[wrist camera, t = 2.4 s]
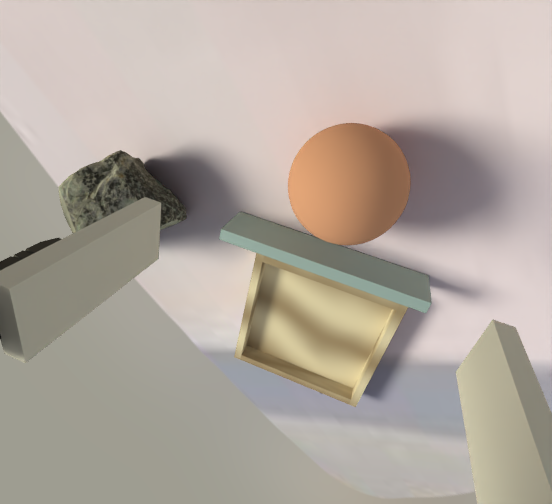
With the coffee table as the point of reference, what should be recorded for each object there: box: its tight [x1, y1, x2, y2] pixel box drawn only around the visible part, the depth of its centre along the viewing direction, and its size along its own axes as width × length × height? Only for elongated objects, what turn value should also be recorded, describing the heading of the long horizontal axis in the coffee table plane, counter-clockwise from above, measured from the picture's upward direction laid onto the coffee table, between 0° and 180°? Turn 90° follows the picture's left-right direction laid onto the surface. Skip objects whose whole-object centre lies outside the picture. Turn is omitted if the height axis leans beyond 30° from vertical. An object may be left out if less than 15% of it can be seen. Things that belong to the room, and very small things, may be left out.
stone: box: [58, 150, 187, 233], centre depth 32 cm, size 10×10×10 cm
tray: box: [234, 253, 408, 407], centre depth 35 cm, size 13×13×2 cm
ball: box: [288, 123, 411, 245], centre depth 24 cm, size 8×8×8 cm
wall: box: [219, 212, 432, 313], centre depth 30 cm, size 1×17×4 cm, turn 78°
